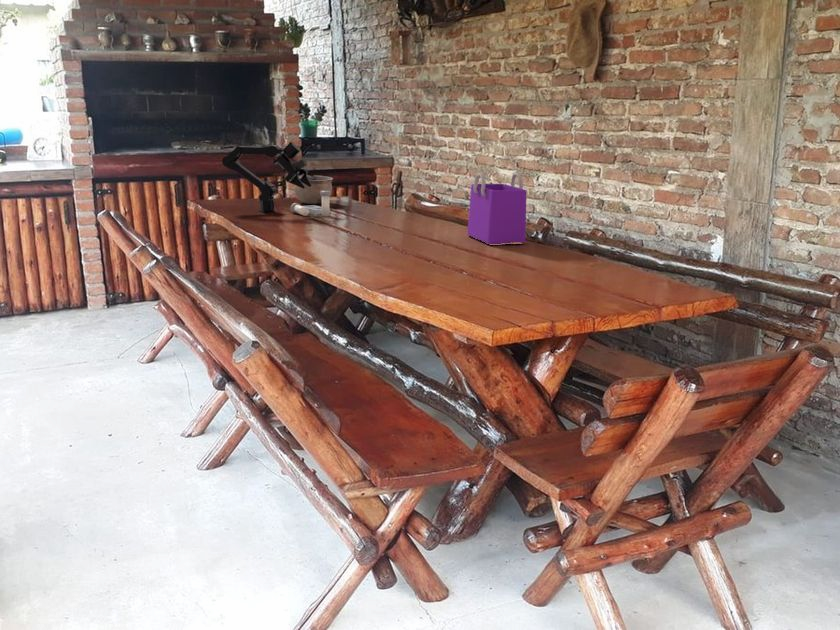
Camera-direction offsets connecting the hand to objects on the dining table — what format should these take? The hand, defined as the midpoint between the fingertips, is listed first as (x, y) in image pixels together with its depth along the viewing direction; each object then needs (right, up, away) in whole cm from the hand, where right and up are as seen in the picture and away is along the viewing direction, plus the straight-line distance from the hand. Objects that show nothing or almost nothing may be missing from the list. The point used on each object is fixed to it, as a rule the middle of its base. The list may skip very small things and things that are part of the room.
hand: (307, 187), depth 426 cm
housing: (+2, -12, +11) cm, 16 cm away
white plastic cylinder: (-5, -14, +1) cm, 15 cm away
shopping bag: (+92, -33, -60) cm, 114 cm away
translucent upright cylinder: (+9, -15, 0) cm, 17 cm away
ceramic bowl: (-3, -3, +44) cm, 44 cm away
